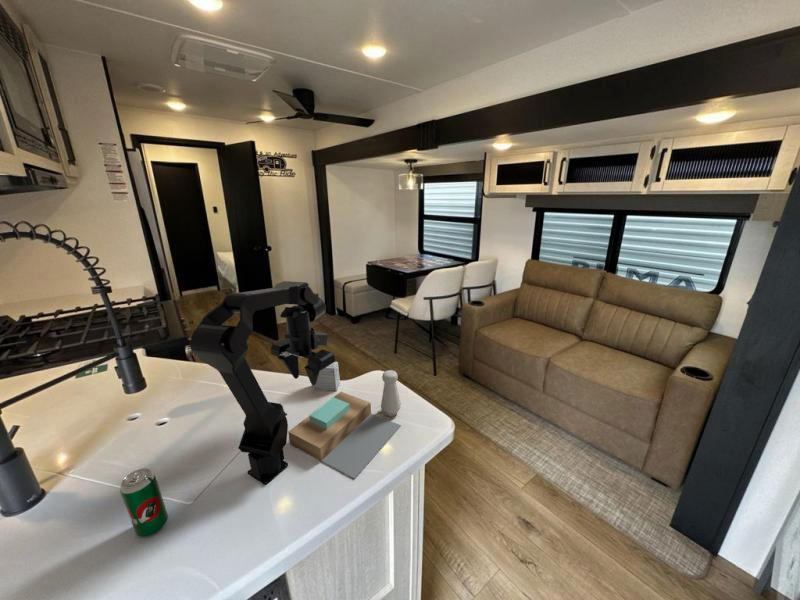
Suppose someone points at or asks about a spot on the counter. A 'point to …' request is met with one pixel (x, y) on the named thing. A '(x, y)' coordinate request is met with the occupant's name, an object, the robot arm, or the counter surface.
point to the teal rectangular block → (329, 413)
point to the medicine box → (328, 378)
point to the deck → (329, 429)
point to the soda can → (144, 502)
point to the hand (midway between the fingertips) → (305, 381)
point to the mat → (361, 445)
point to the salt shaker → (390, 394)
